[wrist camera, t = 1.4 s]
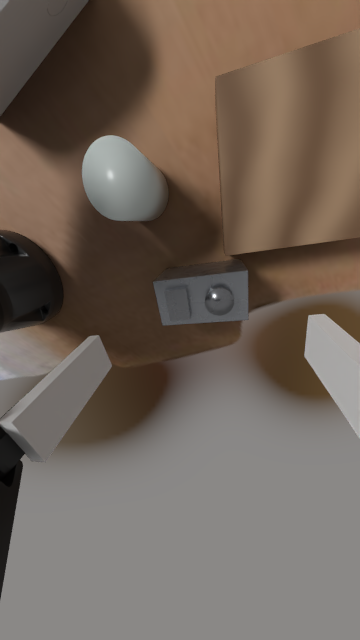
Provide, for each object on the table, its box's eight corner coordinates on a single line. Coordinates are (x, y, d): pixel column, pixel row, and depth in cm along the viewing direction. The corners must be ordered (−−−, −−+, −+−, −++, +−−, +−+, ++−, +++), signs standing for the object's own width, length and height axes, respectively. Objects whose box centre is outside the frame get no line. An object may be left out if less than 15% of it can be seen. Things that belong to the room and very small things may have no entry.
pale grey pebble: (128, 224, 26) (96, 226, 18) (115, 169, 23) (71, 146, 16) (172, 216, 24) (155, 214, 17) (163, 156, 22) (138, 125, 15)
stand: (223, 250, 25) (225, 255, 22) (215, 103, 19) (215, 76, 16) (349, 233, 22) (374, 235, 19) (385, 51, 16) (432, 4, 13)
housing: (173, 304, 30) (160, 329, 23) (166, 268, 27) (150, 284, 20) (240, 298, 28) (249, 324, 21) (239, 258, 25) (249, 272, 18)
